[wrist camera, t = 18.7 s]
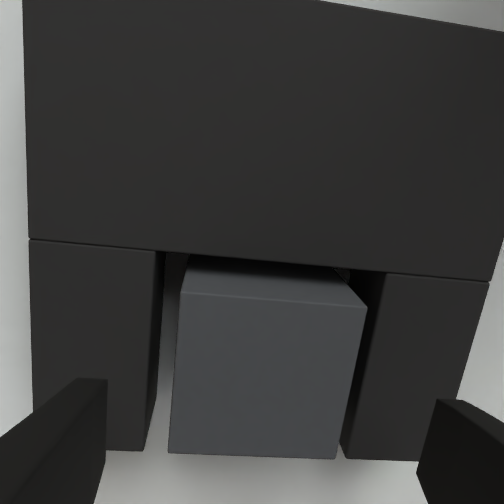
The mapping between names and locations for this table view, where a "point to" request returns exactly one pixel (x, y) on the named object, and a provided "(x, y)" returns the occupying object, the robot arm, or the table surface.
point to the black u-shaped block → (261, 186)
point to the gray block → (262, 359)
